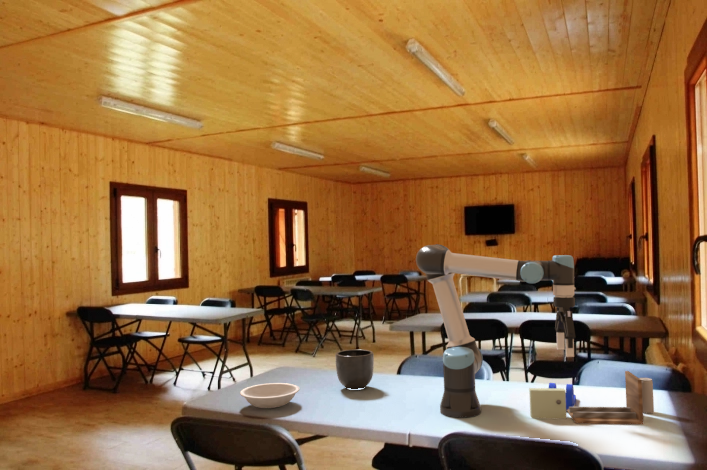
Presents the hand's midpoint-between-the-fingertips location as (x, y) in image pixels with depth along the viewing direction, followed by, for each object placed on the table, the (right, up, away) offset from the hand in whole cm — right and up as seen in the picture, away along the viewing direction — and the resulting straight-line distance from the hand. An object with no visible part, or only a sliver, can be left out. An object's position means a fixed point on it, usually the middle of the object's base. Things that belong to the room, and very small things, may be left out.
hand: (565, 353), depth 215 cm
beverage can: (+27, -20, -6) cm, 35 cm away
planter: (-79, -25, +42) cm, 93 cm away
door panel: (-9, -22, -8) cm, 25 cm away
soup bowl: (-113, -26, +18) cm, 117 cm away
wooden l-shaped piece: (+10, -21, -11) cm, 25 cm away
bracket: (+2, -22, +9) cm, 24 cm away
